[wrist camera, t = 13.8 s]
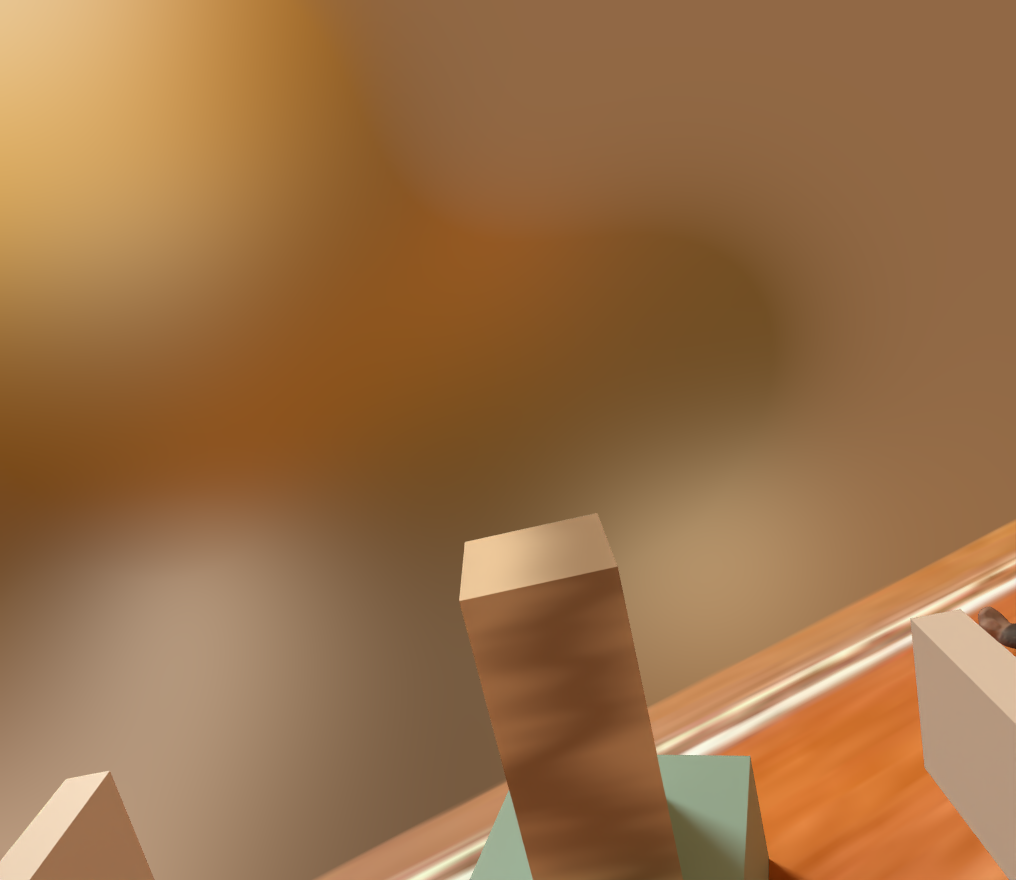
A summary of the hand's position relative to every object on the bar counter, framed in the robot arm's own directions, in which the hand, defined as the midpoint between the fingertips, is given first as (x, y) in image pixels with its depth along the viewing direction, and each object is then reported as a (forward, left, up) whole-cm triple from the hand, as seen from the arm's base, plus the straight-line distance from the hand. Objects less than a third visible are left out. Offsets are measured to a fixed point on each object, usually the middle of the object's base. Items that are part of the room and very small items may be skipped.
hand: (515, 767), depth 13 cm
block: (0, +12, -12) cm, 17 cm away
